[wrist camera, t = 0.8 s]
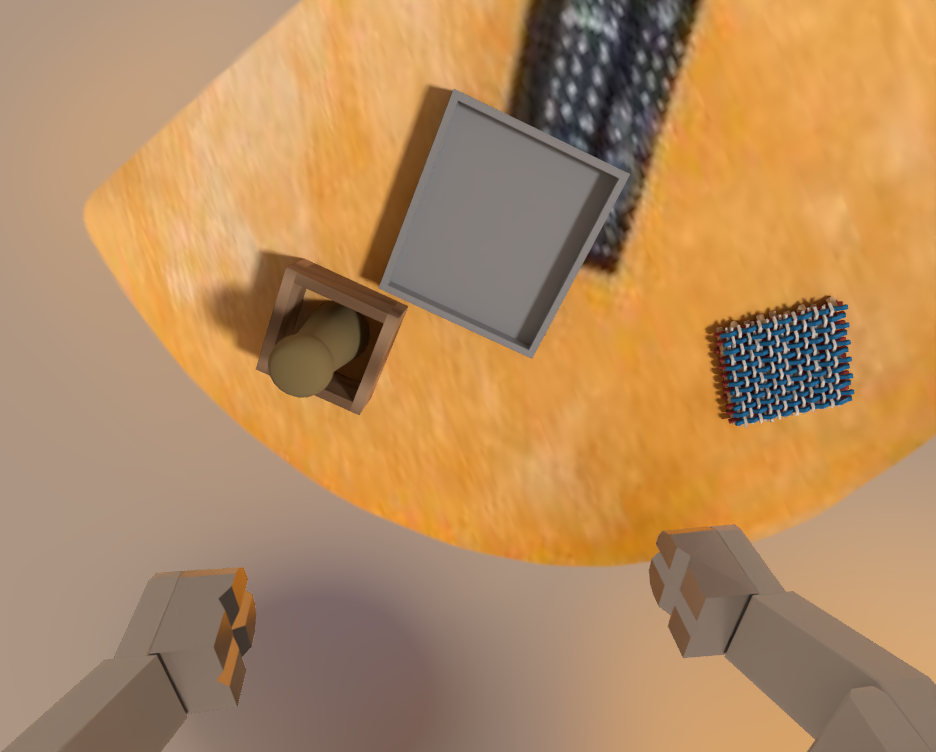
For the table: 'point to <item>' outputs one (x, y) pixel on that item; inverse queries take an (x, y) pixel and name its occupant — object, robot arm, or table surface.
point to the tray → (499, 225)
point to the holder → (348, 295)
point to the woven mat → (785, 363)
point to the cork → (318, 349)
